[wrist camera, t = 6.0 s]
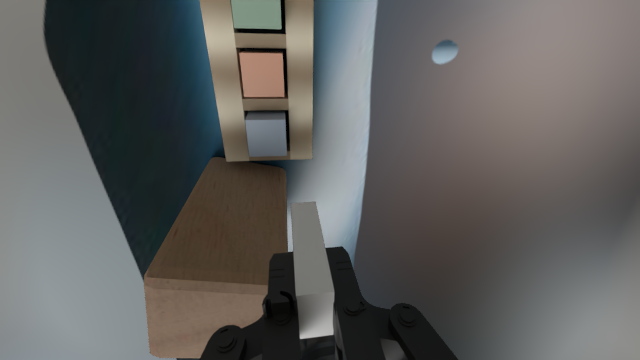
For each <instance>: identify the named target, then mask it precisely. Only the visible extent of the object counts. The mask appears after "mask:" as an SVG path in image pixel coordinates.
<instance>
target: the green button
mask: <svg viewBox="0 0 640 360" xmlns="http://www.w3.org/2000/svg"><path fill="white" fill-rule="evenodd" d="M231 5H232V14H233V22H234V28H245V29H282V25H281V1H280V0H231Z"/></svg>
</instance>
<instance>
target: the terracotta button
mask: <svg viewBox="0 0 640 360" xmlns="http://www.w3.org/2000/svg"><path fill="white" fill-rule="evenodd" d="M239 56H240V64H241V73H242V82H243V91H244V97H284V71H283V51H261V50H244V51H242V52H240V53H239Z"/></svg>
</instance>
